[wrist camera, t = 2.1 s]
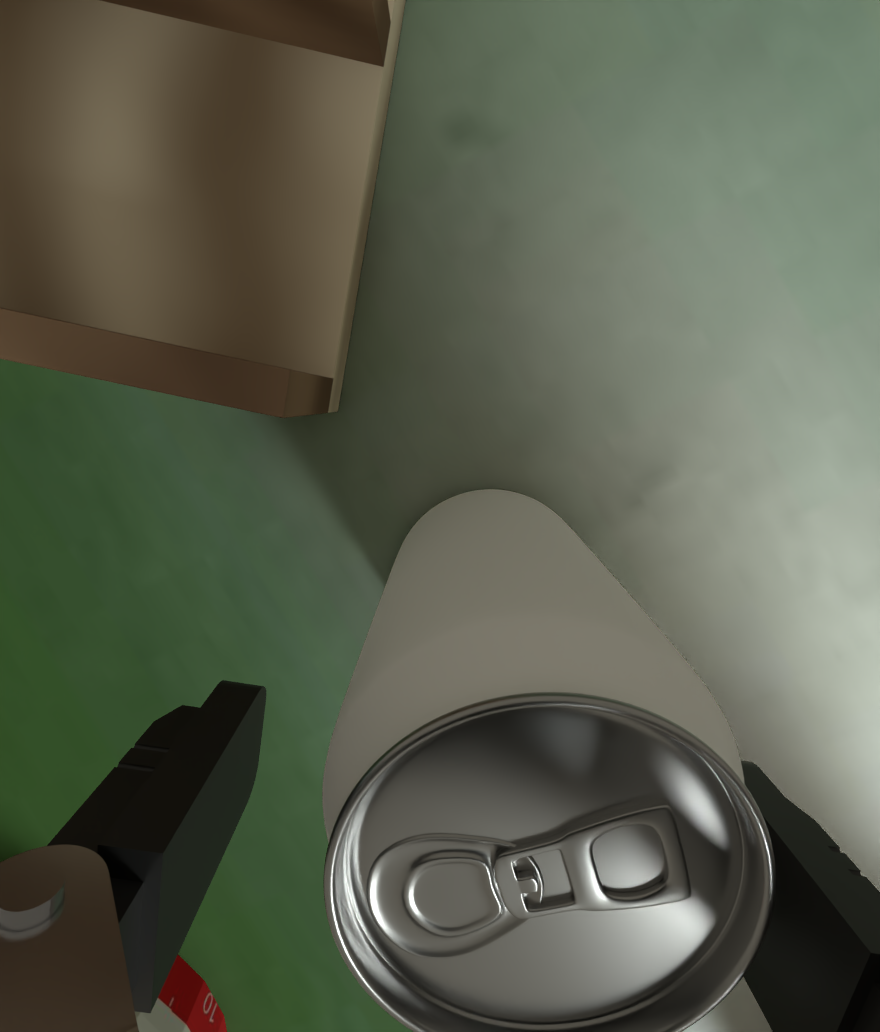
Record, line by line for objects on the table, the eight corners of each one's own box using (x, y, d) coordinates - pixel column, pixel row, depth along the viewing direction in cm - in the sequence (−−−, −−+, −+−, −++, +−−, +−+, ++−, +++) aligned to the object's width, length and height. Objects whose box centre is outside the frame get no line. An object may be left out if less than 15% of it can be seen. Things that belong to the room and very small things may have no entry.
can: (370, 516, 18) (210, 739, 6) (558, 462, 17) (768, 597, 6) (425, 684, 19) (379, 1130, 8) (602, 639, 19) (848, 1046, 7)
